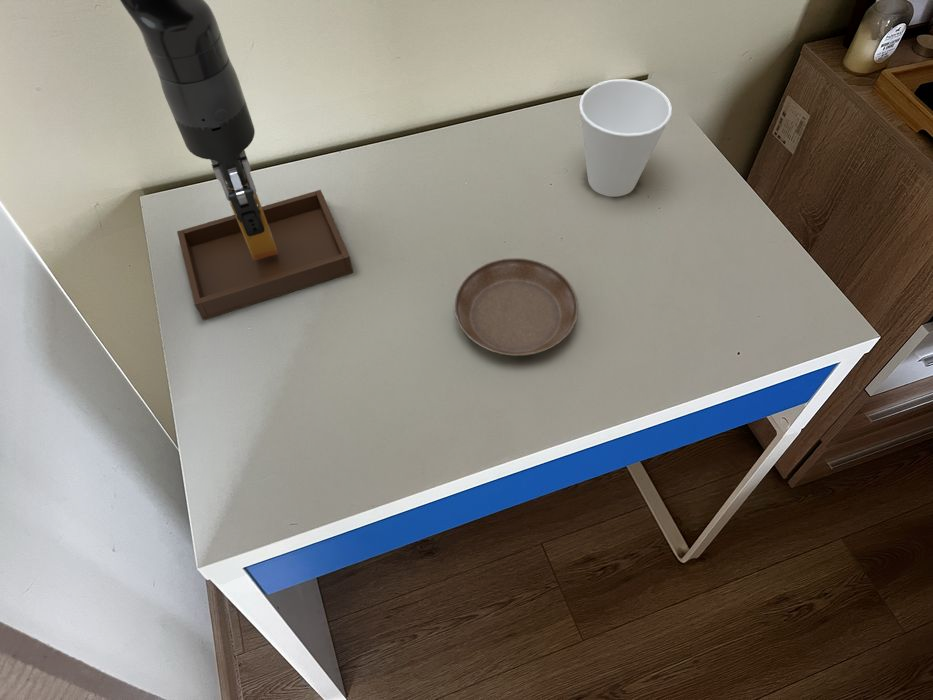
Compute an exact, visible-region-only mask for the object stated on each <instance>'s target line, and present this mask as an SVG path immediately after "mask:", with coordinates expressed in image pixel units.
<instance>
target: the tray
mask: <svg viewBox="0 0 933 700" xmlns="http://www.w3.org/2000/svg"><path fill="white" fill-rule="evenodd" d="M261 207H262V209H263V212H264V215H265V217H266V220H267V223H268V225H269V228H270V231H271V233H272V236H273V239H274V242H275V245H276V248H277V252H278V254H277V255H273V256H269V257H266V258H262V259H259V260H256V261H255V260H253V258H252V255H251V253H250V250H249V248H248V245H247V243H246V240H245V238H244V236H243V233H242V231H241V228H240V226H239V224H238V221H237V219H236V216H235V214H232V215H228V216H226V217H222V218H218V219H214V220H211V221H208V222H205V223H202V224H198V225H194V226H191V227H187V228H184V229H180V230H177V231H176V233H177V237H178V240H179V245H180V249H181V254H182V258H183V262H184V266H185V270H186V274H187V278H188V283H189V287H190V291H191V296H192V299H193V304H194V306H195V308H196V310H197V312H198V313H199V315H200V317H201V319H202V321H205V320H208V319H211V318H215V317H218V316H221V315H224V314H227V313H230V312H234V311H236V310H241V309H243V308H247V307H249V306H252V305H255V304H259V303H262V302H265V301H268V300H271V299H274V298H278V297H280V296H283V295H287V294H289V293H293V292H296V291H300V290H303V289H305V288H309V287H313V286H315V285H319V284H322V283H324V282H329V281H331V280H333V279H337V278H340V277H343V276H347V275H350V274H352V273H354V270H353V265H352V261H351V257H350V254H349V252H348V250H347V247H346V245H345V243H344V240H343V238H342V235H341V233H340V231H339V229H338V226H337V224H336V222H335V220H334V217H333V215H332V212H331V210H330V208H329V206H328V204H327V201H326V199H325V196H324V193H323V192H322V189H318V190H315V191H311V192H307V193H305V194H300V195H298V196H294V197H291V198H287V199H284V200H281V201H277V202H273V203H270V204H266V205H263V206H261Z"/></svg>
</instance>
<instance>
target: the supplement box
mask: <svg viewBox="0 0 933 700" xmlns="http://www.w3.org/2000/svg"><path fill="white" fill-rule="evenodd" d="M247 184H248V183H247ZM247 184H245V185H244V186H246V185H247ZM229 189H233V188H229ZM254 199H255V201H256V204H257V203H258V206H259V208H258V209H260V212H261V213H260V216H261V217H260V218H261V221H262V223H263V226H264V229H265V231H264V232H263V233H260V234H257V235H254V236H248V235H247V234H246V231H245V228H244V226H243V223H242V222H240V221H239V220H238V219H237V214H236V212H235V209H234V207H233V205H232V203H231V201H229V204H230V207H231V209H232V212H233V215H235V216H236V219H237V221H238V224H239V226H240V228H241V231H242V233H243V236H244V238H245V240H246V243H247V245H248V248H249V250H250V253H251V255H252V258H253V260H255V261H256V260H259V259H262V258H266V257H269V256H273V255H277V254H278V252H277V248H276V245H275V242H274V239H273V236H272V233H271V231H270V228H269V225H268V223H267V220H266V217H265V215H264V212H263V209H262V207H263V206H262V205H261V202H260V199H259V197H258V194H257V193H256V194H255V195H254Z"/></svg>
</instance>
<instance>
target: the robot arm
mask: <svg viewBox="0 0 933 700" xmlns="http://www.w3.org/2000/svg"><path fill="white" fill-rule="evenodd" d="M119 1H120V3H121V4H122V6H123V8H124V9H125V11H127V13H128V14H129V16H130V18H131V19H132V20H133V21H134V23H135V25H136V26H137V28H138V29H139V32H140V34H141V36H142V38H143V40H144V44H145V46H146V47H145V48H146V50H147V52H148V54H149V56H150V59H151V61H152V64H153V66H154V68H155V70H156V73H157V75H158V78H159V81H160V85H161V89H162V92H163V95H164V98H165V100H166V103H167V105H168V107H169V109H170V112H171V114H172V117H173V119H174V122H175V124H176V125H177V129H178V131H179V134H180V135H181V137H182V140H183V143H184V145H185V147H186V149H187V150H188V151H189V152H190V153H191V155H194V156H196V157H197V158H199V159H202V160H203V159H204V160H210V162H211V168H212V171H213V173H214V176H215V178H216V180H218V181H219V183H220V185H221V187H222V190H223V192H224V196H225V198H226V200H227V201H229V202H230V201H231V203H232V205H233V207H234V209H235V212H236V214H237V219H238V220H239V221H240V222H242V223H243V226H244V228H245V231H246V234H247V235H248V236H254V235H257V234H260V233H263V232H264V231H265V229H264V226H263V223H262V221H261V218H260V217H261V216H260V213H261V212H260V209H258V208H259V206H258V203H257V204H256V201H255V199H254V195H255V194H257V188H256V186H255V183H254V180H253V178H252V174H251V171H252V168H251V164H250V162H249V159H248V157H247V154H246V151H245V150H246V149H247V148H248V147H249V146H250V145H251V144H252V142H253V140H254V137H255V134H256V133H255V132H256V131H255V126H254V123H253V119H252V116H251V114H250V111H249V108H248V104H247V101H246V99H245V95H244V92H243V89H242V86H241V83H240V80H239V77H238V74H237V72H236V70H235V68H234V66H233V64H232V61H231V59H230V57H229V55H228V51H227V49H226V46H225V42H224V39H223V36H222V33H221V30H220V27H219V24H218V21H217V19H216V16H215V14H214V12H213V10H212V8H211V7H210V5H209V4H208V3H207V2H206V0H119ZM247 183H248V184H247ZM245 184H247V185H246V186H244V185H245ZM229 188H233V189H229Z"/></svg>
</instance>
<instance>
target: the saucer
mask: <svg viewBox="0 0 933 700" xmlns="http://www.w3.org/2000/svg"><path fill="white" fill-rule="evenodd" d="M578 313H579V303H578V297H577V294H576V291H575V289H574V288H573V286H572V283H570V281H569V280H568V279H567V278H566V277H565V275H563V274H562V273H560V272H559V271H558V270H556V269H555V268H554V267H552V266H550V265H547V264H546V263H543V262H540V261H537V260H534V259H528V258H523V257H522V258H520V257H519V258H518V257H512V258H511V257H510V258H502V259H497V260H494V261H491V262H490V261H489V262H488V263H486V264H483V265H481V266H480V267H478V268H476V269H475V270H473V271H472V272H471V273H470V274H468V275H467V277H466V278H465V279H464V280H463V281H462V283H461V284H460V286H459V288H458V290H457V292H456V295H455V298H454V314H455V318H456V321H457V323H458V325H459V327H460V329H461V330H462V331H463V333H464V334H465V335H466V336H467V338H469V339H470V340H471V341H472V342H474V343H475V344H476V345H478V346H480V347H482V348H484V350H487V351H490V352H492V353H496V354H499V355H504V356H512V357H524V356H525V357H526V356H531V355H535V354H540V353H542V352H544V351H546V350H549V349H551V348H553V347H555V346H557V345H558V344H559V343H560V342H562V341H563V340H564V339H565V338H566V337H567V336H568V335H569V334H570V332H571V331H572V330H573V328H574V326H575V324H576V322H577V318H578Z"/></svg>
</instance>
